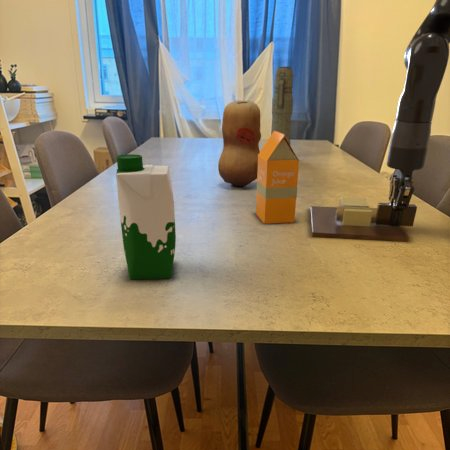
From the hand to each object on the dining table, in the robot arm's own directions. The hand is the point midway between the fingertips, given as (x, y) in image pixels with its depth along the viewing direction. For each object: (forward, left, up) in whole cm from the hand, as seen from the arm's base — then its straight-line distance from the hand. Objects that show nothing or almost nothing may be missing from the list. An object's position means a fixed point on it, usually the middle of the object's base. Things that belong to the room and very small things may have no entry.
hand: (393, 223), depth 99 cm
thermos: (+30, -101, -2) cm, 106 cm away
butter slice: (+8, +1, 0) cm, 9 cm away
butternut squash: (+40, -39, -2) cm, 56 cm away
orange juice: (+27, -5, -2) cm, 28 cm away
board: (+8, -3, -1) cm, 9 cm away
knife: (+5, 0, 0) cm, 5 cm away
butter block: (+8, -7, 0) cm, 11 cm away
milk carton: (+47, +32, -2) cm, 57 cm away
